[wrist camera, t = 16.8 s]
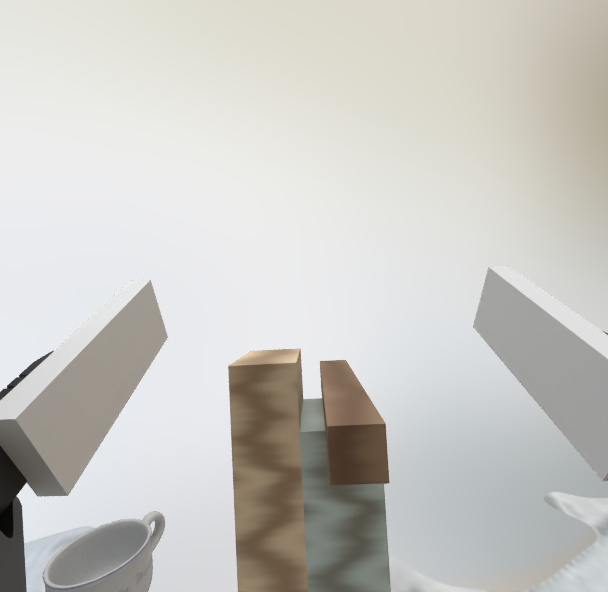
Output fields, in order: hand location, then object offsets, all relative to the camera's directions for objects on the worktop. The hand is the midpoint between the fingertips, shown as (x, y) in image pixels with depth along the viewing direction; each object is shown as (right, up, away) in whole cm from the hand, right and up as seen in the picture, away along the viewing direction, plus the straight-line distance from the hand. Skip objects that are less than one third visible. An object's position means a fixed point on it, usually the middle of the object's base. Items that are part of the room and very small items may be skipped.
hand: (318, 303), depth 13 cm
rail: (+3, -11, +18) cm, 22 cm away
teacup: (-23, -38, +26) cm, 51 cm away
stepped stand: (0, -36, +19) cm, 40 cm away
